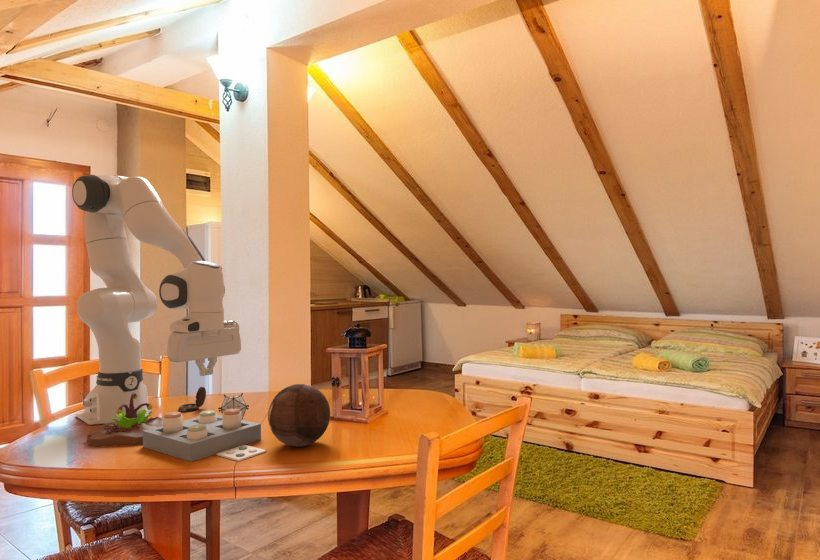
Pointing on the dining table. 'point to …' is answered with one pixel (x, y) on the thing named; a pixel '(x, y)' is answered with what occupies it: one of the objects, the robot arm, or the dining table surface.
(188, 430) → the button
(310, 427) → the wooden sphere
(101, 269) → the robot arm
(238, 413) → the button
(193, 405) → the compass
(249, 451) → the card
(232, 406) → the wireframe polyhedron
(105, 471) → the dining table surface
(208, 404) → the dining table surface
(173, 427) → the button
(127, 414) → the plant
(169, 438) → the grey grid tray
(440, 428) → the dining table surface
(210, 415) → the button
